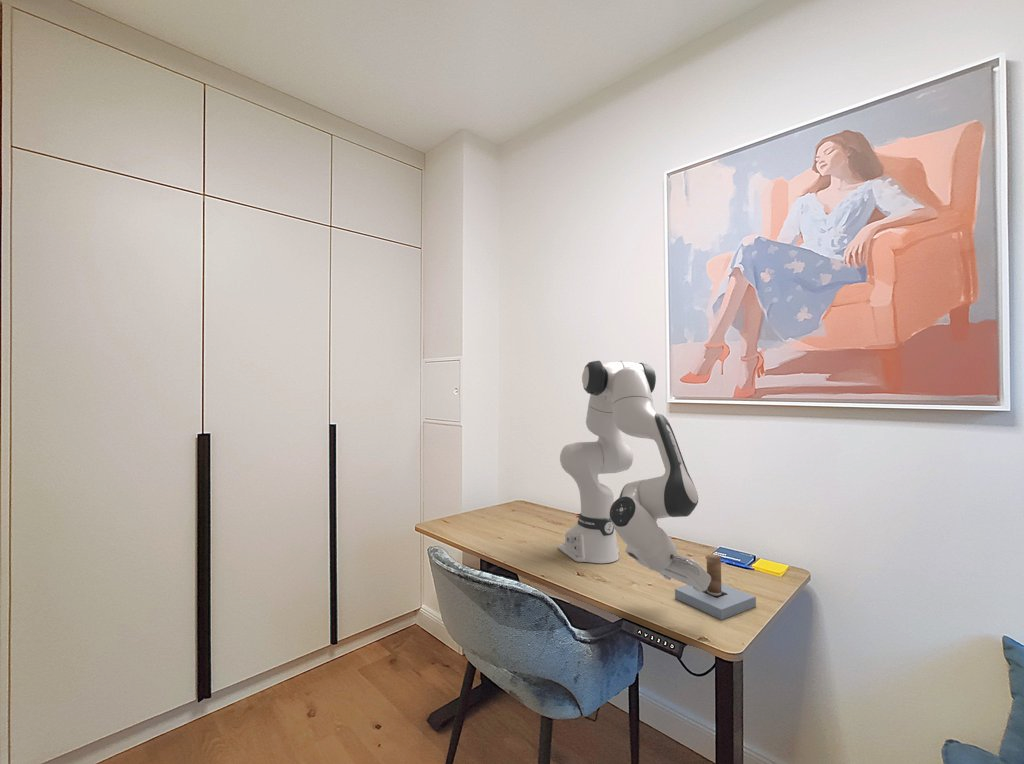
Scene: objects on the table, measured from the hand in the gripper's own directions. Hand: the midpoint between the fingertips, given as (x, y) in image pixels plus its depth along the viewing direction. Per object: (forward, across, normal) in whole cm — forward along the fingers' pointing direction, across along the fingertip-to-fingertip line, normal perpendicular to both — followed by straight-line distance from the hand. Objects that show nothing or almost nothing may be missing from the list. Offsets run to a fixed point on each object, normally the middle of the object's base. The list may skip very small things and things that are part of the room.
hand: (684, 583), depth 116 cm
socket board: (+14, 0, -3) cm, 14 cm away
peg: (+14, 0, -3) cm, 14 cm away
